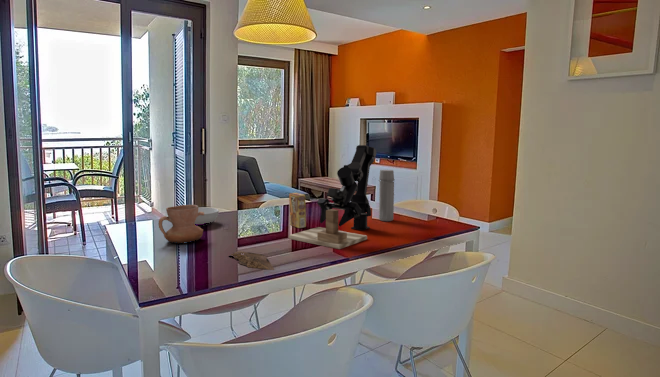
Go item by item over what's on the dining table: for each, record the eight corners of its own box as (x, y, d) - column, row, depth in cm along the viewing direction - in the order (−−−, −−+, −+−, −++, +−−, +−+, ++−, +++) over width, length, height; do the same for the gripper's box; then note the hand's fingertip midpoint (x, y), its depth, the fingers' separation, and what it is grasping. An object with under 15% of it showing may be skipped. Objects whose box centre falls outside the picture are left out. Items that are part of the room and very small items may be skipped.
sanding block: (326, 236, 174) (326, 207, 172) (346, 240, 168) (346, 210, 166) (317, 239, 169) (317, 209, 167) (337, 243, 163) (337, 212, 161)
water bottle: (382, 218, 218) (383, 169, 215) (396, 219, 213) (397, 170, 210) (373, 221, 211) (374, 170, 207) (387, 223, 206) (388, 171, 203)
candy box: (306, 227, 197) (306, 194, 195) (298, 228, 195) (297, 195, 193) (297, 223, 205) (296, 192, 203) (289, 225, 202) (288, 193, 200)
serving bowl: (212, 229, 193) (211, 214, 192) (166, 229, 193) (165, 214, 193) (224, 220, 214) (223, 206, 213) (182, 220, 214) (181, 206, 213)
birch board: (318, 230, 191) (318, 226, 191) (367, 239, 176) (367, 235, 175) (289, 238, 177) (289, 235, 176) (339, 249, 161) (339, 245, 161)
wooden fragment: (224, 255, 154) (224, 252, 154) (252, 250, 161) (252, 247, 160) (254, 275, 133) (254, 271, 133) (285, 268, 140) (285, 265, 139)
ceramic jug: (201, 234, 183) (198, 202, 181) (210, 241, 171) (208, 207, 169) (156, 241, 174) (153, 207, 172) (163, 249, 162) (160, 212, 160)
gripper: (319, 178, 174) (302, 209, 167) (357, 182, 163) (340, 215, 155) (331, 195, 181) (315, 225, 174) (368, 199, 170) (352, 232, 163)
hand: (329, 224), depth 166 cm, fingers open, 9 cm apart
